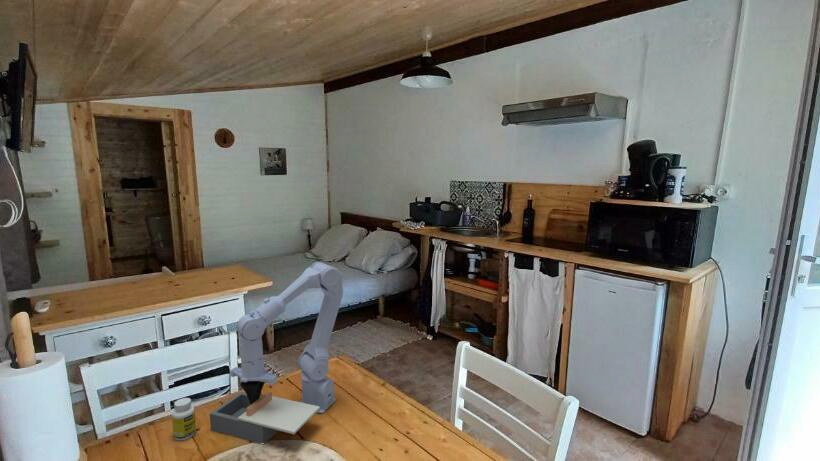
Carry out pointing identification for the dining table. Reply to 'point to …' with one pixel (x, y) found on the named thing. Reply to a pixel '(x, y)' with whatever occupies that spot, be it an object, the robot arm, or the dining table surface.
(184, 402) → the supplement bottle
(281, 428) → the lid
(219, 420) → the gray open box
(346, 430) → the dining table surface
